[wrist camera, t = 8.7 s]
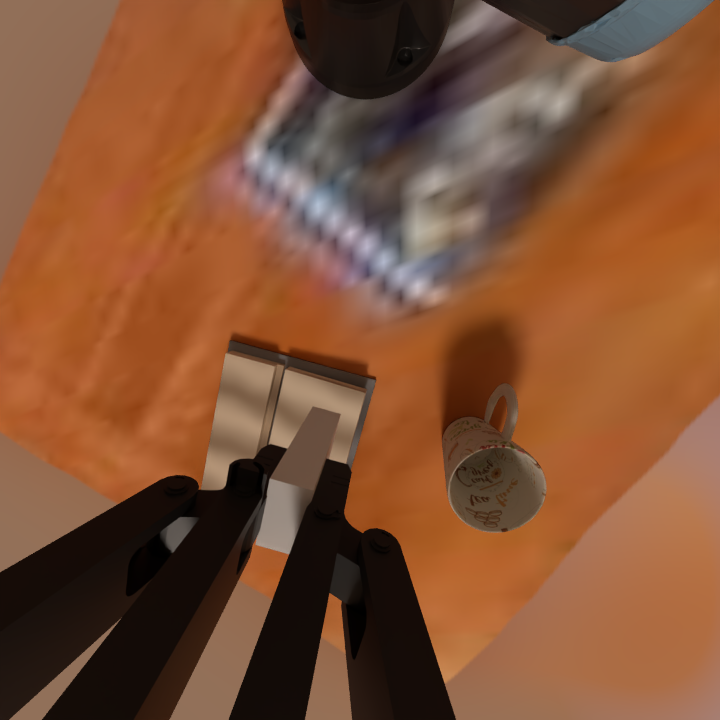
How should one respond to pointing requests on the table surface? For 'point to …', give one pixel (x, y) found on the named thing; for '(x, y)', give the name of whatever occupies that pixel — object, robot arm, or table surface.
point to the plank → (322, 393)
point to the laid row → (259, 406)
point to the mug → (491, 471)
